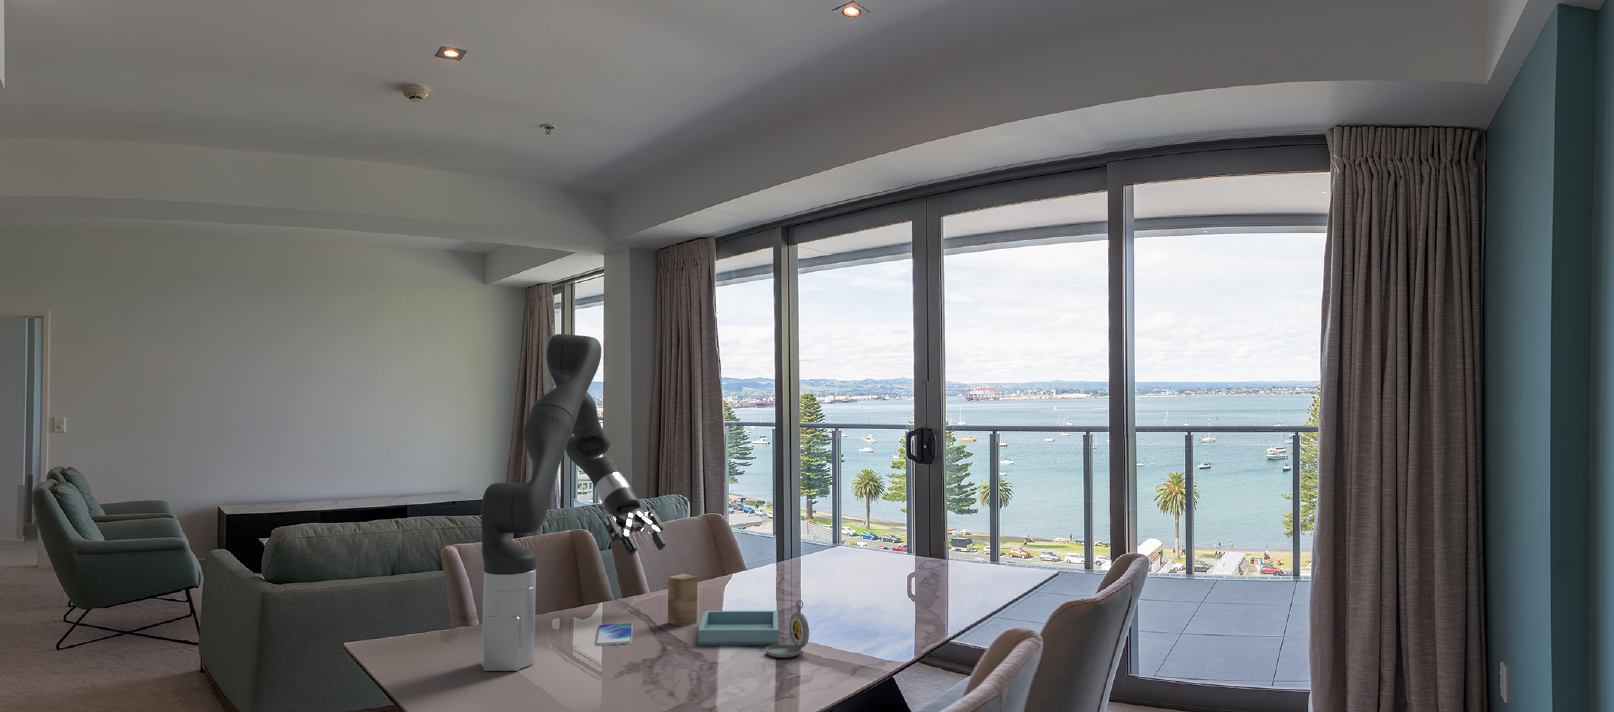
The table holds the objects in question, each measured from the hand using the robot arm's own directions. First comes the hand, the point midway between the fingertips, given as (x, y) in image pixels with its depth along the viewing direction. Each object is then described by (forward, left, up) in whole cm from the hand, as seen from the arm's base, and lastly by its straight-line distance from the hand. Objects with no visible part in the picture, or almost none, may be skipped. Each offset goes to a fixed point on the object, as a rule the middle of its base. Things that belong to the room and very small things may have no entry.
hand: (648, 550), depth 201 cm
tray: (-18, -22, -15) cm, 31 cm away
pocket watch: (-32, -32, -15) cm, 47 cm away
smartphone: (-18, +4, -15) cm, 24 cm away
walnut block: (-8, -9, -15) cm, 19 cm away
